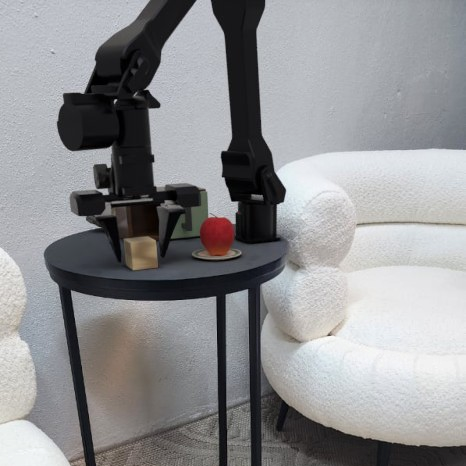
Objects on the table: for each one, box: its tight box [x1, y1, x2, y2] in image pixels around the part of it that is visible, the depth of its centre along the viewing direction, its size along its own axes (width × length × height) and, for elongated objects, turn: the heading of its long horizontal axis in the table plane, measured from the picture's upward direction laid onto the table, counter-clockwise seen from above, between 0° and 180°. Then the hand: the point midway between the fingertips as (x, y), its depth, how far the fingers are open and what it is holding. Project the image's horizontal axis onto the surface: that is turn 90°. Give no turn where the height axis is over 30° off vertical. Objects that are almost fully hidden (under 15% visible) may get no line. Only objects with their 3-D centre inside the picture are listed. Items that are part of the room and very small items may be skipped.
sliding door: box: [171, 190, 209, 240], centre depth 122 cm, size 8×4×7 cm, turn 113°
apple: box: [191, 212, 242, 261], centre depth 110 cm, size 8×8×6 cm
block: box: [123, 236, 159, 271], centre depth 105 cm, size 4×4×4 cm
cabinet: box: [115, 186, 207, 242], centre depth 126 cm, size 15×8×8 cm, turn 113°
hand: (141, 259), depth 106 cm, fingers open, 7 cm apart
